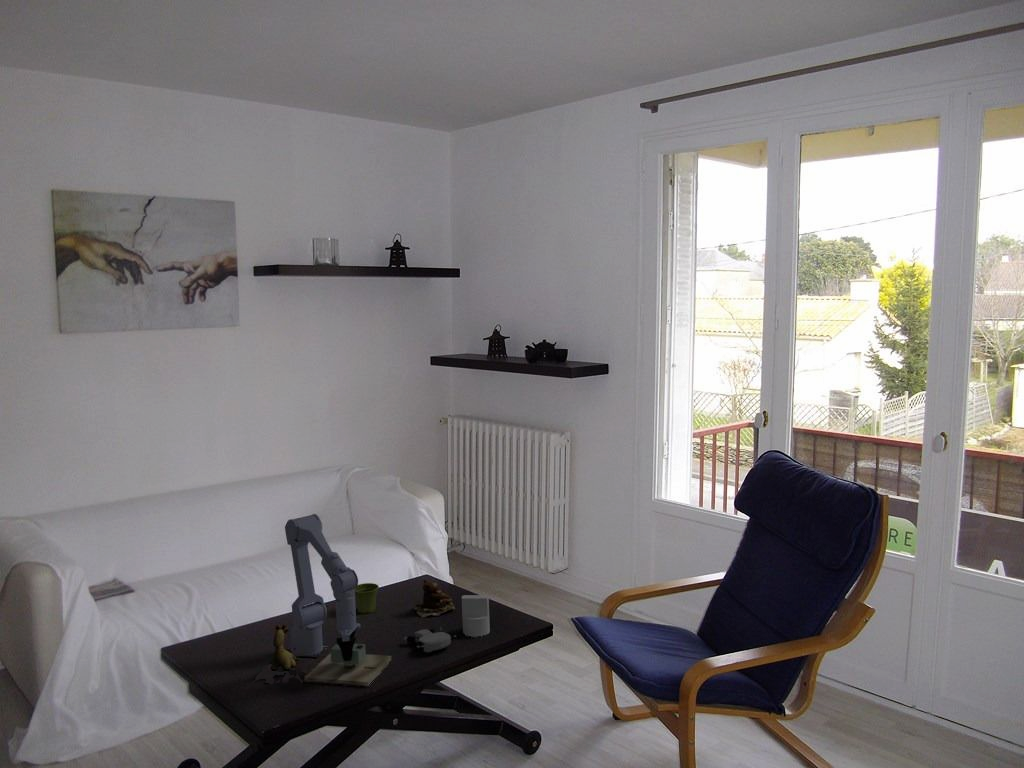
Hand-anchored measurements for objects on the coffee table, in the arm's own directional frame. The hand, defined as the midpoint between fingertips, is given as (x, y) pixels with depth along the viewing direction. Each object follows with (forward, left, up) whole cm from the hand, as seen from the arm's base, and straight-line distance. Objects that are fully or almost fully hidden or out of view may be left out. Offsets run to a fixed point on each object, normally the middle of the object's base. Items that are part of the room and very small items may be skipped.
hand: (348, 655), depth 244 cm
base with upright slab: (+30, +35, -5) cm, 46 cm away
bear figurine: (+10, +52, -6) cm, 53 cm away
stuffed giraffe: (-19, -3, -6) cm, 20 cm away
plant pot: (-15, +48, -5) cm, 51 cm away
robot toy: (+18, +21, -5) cm, 28 cm away
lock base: (0, 0, -5) cm, 5 cm away
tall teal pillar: (0, 0, -1) cm, 1 cm away
